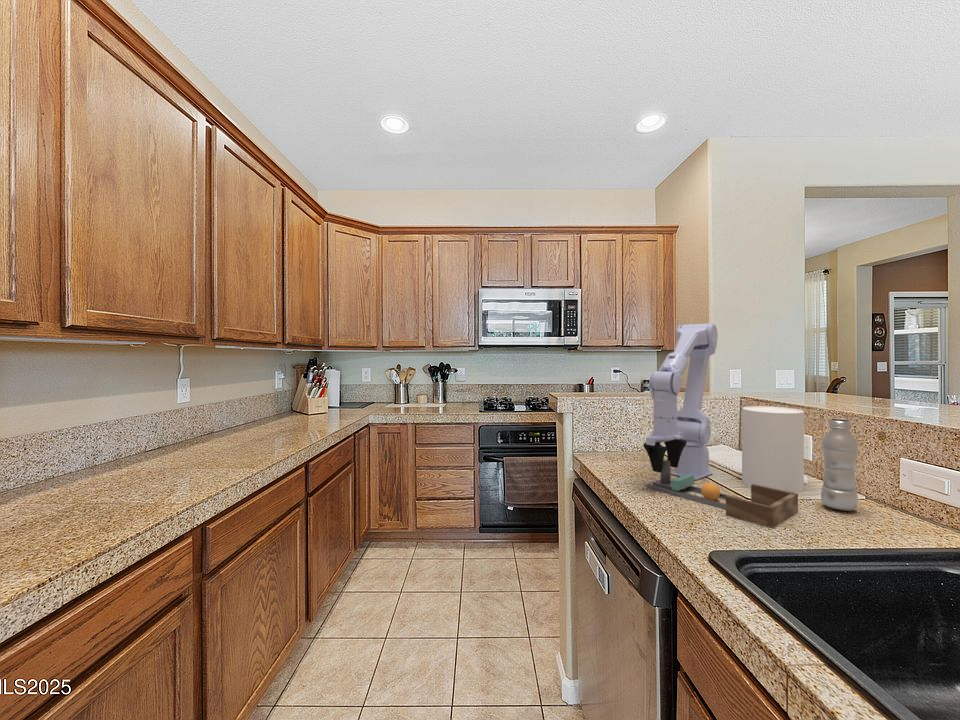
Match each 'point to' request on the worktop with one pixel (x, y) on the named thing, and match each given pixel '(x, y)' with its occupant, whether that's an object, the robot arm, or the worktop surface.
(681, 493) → the guide rails
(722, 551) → the worktop surface
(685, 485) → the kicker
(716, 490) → the ball
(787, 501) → the box
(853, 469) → the plastic bottle
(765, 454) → the canister
